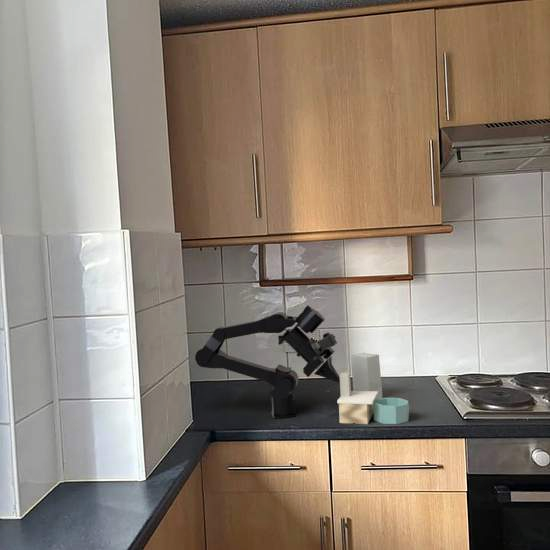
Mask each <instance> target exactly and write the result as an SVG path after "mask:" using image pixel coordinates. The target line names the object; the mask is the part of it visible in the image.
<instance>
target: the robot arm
mask: <svg viewBox="0 0 550 550" xmlns="http://www.w3.org/2000/svg"><path fill="white" fill-rule="evenodd" d="M325 320H326V319H325V318H324V316H323V315H322V314H321V313H320V312H319V310H316V309H314V308H313V307H311V306H310V305H309V304H308V305H306V307H304V309H303V310H302V312H301V313H300V314H299V315H298V316H291V315H288V314H287V313H284V312H283V311H278V312H276V313H275V312H274V313H273V314H269V315H267V316H265V317H263V318H259V319H256V320H251V321H246V322H242V323H237V324H231V325H226V326H220V327H217V328H216V329H214V330H213V333H212V335H211V336H210V338H209V339H208V340H207V341H206V343H205V344H204V346H203V347H202V348H200V349H199V350H197V352H196V353H195V356H194V358H195V362H196V364H197V365H198V366H199V367H200V368H205V369H206V368H207V369H221V370H222V369H224V370H227V371H230V372H233V373H236V374H239V375H243V376H246V377H250V378H253V379H257V380H259V381H263V382H266V383H267V384H268V385H270V386H271V387H272V389H271V390H270V392H269V393H270V396H271V412H270V413H271V415H272V417H273V418H274V419H281V418H283V419H284V418H293V417H296V413H297V411H296V399H295V398H294V394H293V393H292V392H293V391H294V390H295V389H296V387H297V385H298V384H299V380H300V379H299V375H298V373H297V372H296V371H295V370H293V369H292V367H291V366H289V367H286V366H285V365H282V364H280V363H279V364H277V366H276V367H274V368H271V367H268V366H264V365H261V364H258V363H255V362H251V361H248V360H244V359H240V358H238V357H234V356H232V355H229V354H227V353H226V352H225V351H223V350H221V348H222V347H223V345H224V342H225V341H226V340H228V339H234V338H238V337H244V336H250V335H255V334H280V333H283V332H284V331H285V330H286V329H287V328H288V329H287V330H286V331H285V332H284V333H283V334H282V335H281V334H280V335H278V336H277V337H278V342H277V343H278V346H280V345H281V346H282V344H284V343H287V345H288V346H289V347H290V348H292V350H293V351H295V352H296V356H297V357H298V358H300V357H301V358H302V360H304V361H305V362H306V365H305V366H304V367H303V368H302V372H303V374H304V375H305V376H306V377H307V378H309V377H310V376H311V375H312V374H313V375H316V376H320V377H321V378H322V377H323V378H325V379H328V380H330V381H333V382H335V383H338V384H340V374H339V373H338V372H337V370H336V369H335V367H334V365H333V356H332V355H334V353H335V350H334V349H333V348H332V347H334V346H336V344H338V341H337V340H336V336H335V335H334V334H333V333H330V332H328V331H327V332H326V333H323V334H322V338H321V339H319V340H316V339H315V338H312V339H311V338H310V337H309V336H308V335H307V334H309V333H310V334H313V333H314V332H316V330H317V329H318V328H319V326H321V324H322V323H324V321H325ZM295 324H296V325H295ZM293 326H294V327H293ZM292 327H293V328H292ZM290 328H291V329H290ZM305 333H306V334H305Z"/></svg>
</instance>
